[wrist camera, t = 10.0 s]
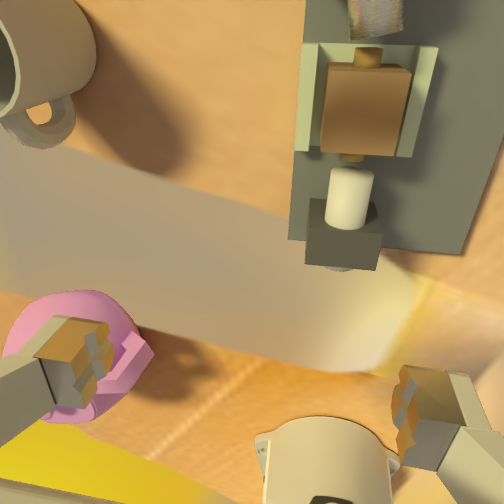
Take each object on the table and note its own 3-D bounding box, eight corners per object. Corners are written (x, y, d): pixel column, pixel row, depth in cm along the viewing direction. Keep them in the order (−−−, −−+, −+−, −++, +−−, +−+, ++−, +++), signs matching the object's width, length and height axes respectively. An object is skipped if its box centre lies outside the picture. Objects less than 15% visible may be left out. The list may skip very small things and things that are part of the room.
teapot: (-9, 295, 44) (-98, 372, 34) (140, 268, 38) (84, 350, 29) (53, 373, 50) (-7, 456, 41) (189, 359, 45) (156, 451, 35)
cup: (73, -32, 25) (-30, -50, 18) (128, 121, 30) (66, 157, 23) (-15, -5, 27) (-143, -11, 19) (51, 135, 32) (-30, 174, 24)
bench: (455, 246, 32) (481, 292, 27) (288, 232, 33) (283, 273, 28) (588, -124, 20) (685, -172, 14) (315, -118, 21) (315, -160, 16)
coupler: (330, 44, 24) (332, 50, 20) (401, 46, 24) (416, 52, 20) (318, 146, 28) (318, 167, 24) (380, 150, 27) (390, 172, 24)
